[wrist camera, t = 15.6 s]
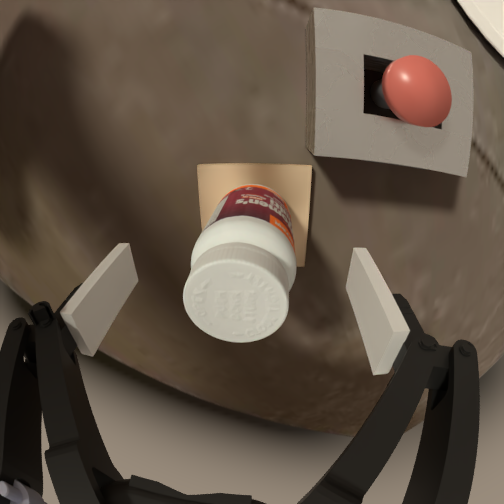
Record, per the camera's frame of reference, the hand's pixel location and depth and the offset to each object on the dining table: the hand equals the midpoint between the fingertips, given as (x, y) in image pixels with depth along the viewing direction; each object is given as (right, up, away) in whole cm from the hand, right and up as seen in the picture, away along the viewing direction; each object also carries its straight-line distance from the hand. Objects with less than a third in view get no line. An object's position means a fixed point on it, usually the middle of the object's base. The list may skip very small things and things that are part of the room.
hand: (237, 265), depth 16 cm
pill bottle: (+1, +4, +7) cm, 8 cm away
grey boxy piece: (+11, +13, +2) cm, 17 cm away
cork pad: (+1, +4, +8) cm, 9 cm away
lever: (+11, +13, +1) cm, 17 cm away
